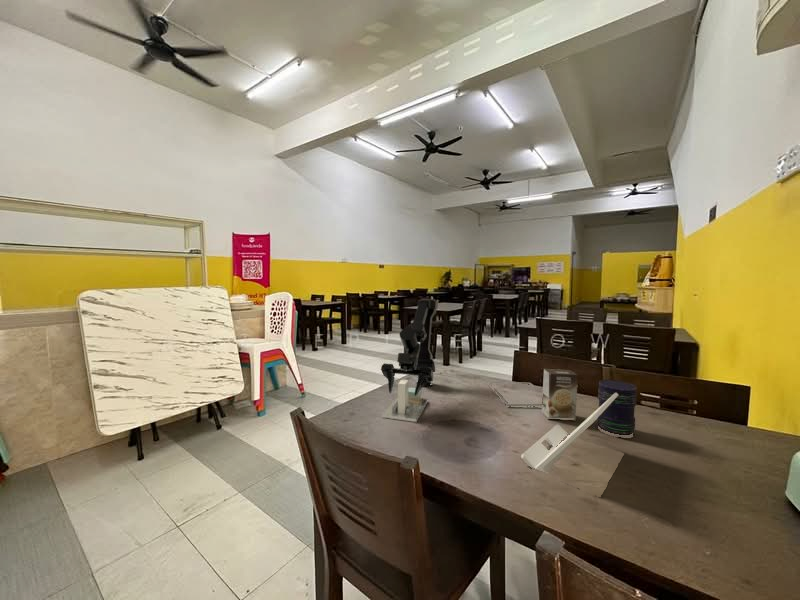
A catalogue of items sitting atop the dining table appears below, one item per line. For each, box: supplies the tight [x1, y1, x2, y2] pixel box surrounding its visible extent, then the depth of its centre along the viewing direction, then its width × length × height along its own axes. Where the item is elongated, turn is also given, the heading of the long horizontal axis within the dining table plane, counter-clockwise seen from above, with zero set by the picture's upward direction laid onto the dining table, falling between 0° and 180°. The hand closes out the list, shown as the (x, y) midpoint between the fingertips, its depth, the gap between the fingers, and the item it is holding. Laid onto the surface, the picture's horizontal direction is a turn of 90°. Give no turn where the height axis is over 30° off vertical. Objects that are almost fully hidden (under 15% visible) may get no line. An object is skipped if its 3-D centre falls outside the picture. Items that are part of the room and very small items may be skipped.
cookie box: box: [541, 368, 579, 420], centre depth 110 cm, size 9×6×16 cm
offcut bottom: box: [408, 394, 422, 403], centre depth 122 cm, size 5×7×2 cm
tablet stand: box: [520, 393, 618, 474], centre depth 83 cm, size 18×25×17 cm
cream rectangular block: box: [397, 379, 409, 414], centre depth 111 cm, size 4×2×10 cm, turn 163°
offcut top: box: [408, 386, 423, 398], centre depth 122 cm, size 5×7×2 cm
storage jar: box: [596, 379, 638, 435], centre depth 99 cm, size 10×10×15 cm
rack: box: [381, 396, 429, 423], centre depth 116 cm, size 19×12×3 cm, turn 163°
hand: (402, 393), depth 110 cm, fingers open, 9 cm apart
